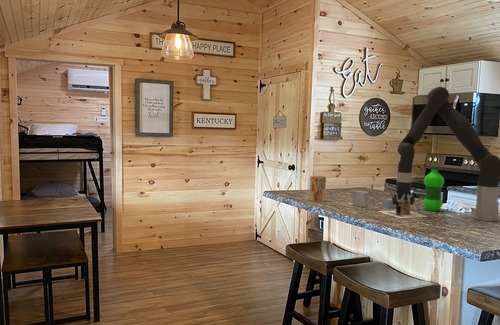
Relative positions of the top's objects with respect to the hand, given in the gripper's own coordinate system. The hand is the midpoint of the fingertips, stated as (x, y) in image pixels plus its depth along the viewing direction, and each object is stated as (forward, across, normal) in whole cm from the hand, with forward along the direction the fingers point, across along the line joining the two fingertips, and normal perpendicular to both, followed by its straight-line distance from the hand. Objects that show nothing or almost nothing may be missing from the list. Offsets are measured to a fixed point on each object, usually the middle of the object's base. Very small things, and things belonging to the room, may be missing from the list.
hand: (402, 212), depth 220 cm
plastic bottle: (+1, -26, -7) cm, 27 cm away
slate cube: (+1, -6, -19) cm, 20 cm away
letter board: (+1, 0, 0) cm, 1 cm away
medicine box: (+1, +8, -27) cm, 28 cm away
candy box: (+1, +24, -50) cm, 55 cm away
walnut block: (+1, 0, 0) cm, 1 cm away
